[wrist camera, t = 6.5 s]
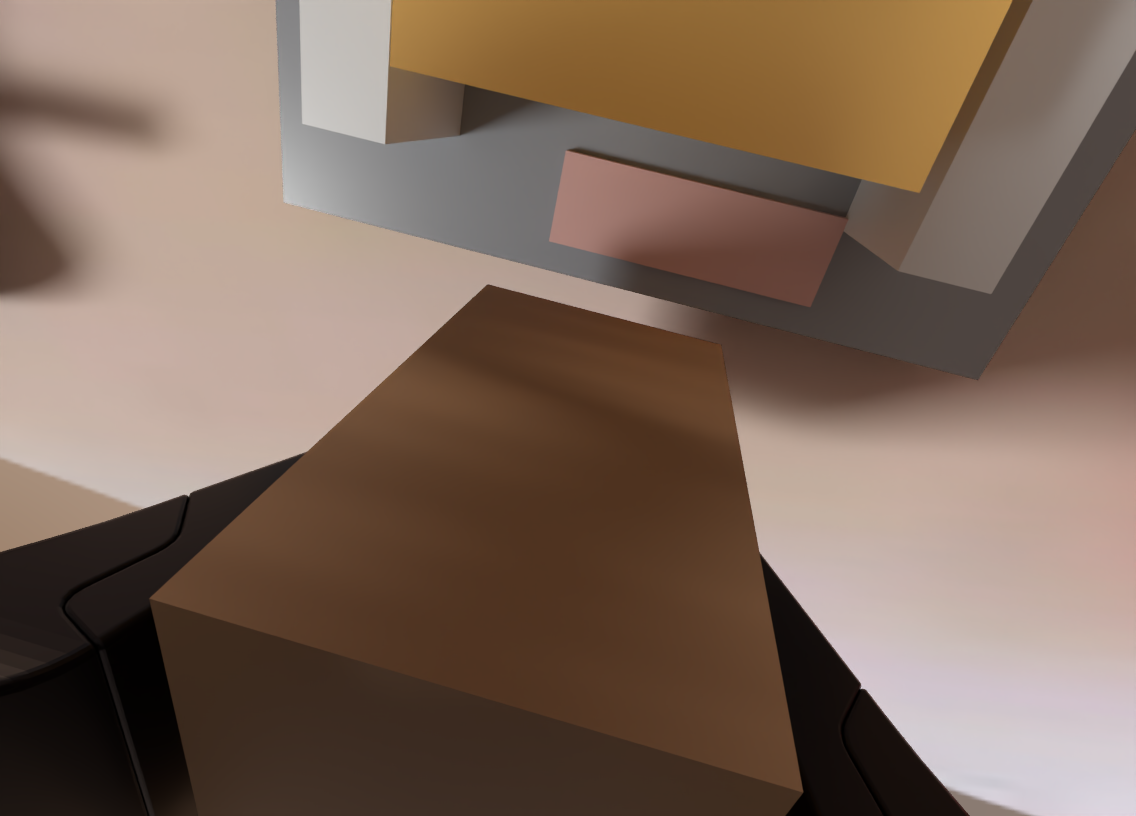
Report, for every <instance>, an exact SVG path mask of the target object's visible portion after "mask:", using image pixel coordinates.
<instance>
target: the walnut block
mask: <svg viewBox="0 0 1136 816" xmlns="http://www.w3.org/2000/svg"><path fill="white" fill-rule="evenodd" d="M149 600H150V604H151V609H152V613H153V617H154V622H155V626H156V631H157V635H158V640H159V644H160V648H161V653H162V657H163V662H164V666H165V670H166V675H167V679H168V684H169V688H170V692H171V697H172V701H173V706H174V710H175V714H176V719H177V723H178V728H179V732H180V736H181V741H182V745H183V750H184V754H185V759H186V763H187V767H188V772H189V776H190V781H191V785H192V789H193V794H194V798H195V803H196V807H197V811H198V816H786V814H787V813H788V812H789V810H790V809H791V808H792V807H793V805H794V804H795V803H796V801H797V800H798V799H799V798H800V796H801V795H802V794H803V788H802V782H801V777H800V772H799V766H798V761H797V755H796V750H795V744H794V739H793V733H792V728H791V722H790V717H789V712H788V706H787V701H786V695H785V690H784V684H783V679H782V673H781V668H780V663H779V657H778V652H777V646H776V641H775V635H774V630H773V624H772V619H771V614H770V608H769V603H768V597H767V592H766V586H765V581H764V575H763V570H762V564H761V559H760V554H759V548H758V543H757V537H756V532H755V526H754V521H753V515H752V510H751V505H750V499H749V494H748V488H747V483H746V477H745V472H744V466H743V461H742V456H741V450H740V445H739V439H738V434H737V428H736V423H735V417H734V412H733V406H732V401H731V396H730V390H729V385H728V379H727V374H726V368H725V363H724V357H723V352H722V347H721V345H720V344H716V343H712V342H708V341H704V340H700V339H697V338H693V337H689V336H685V335H681V334H677V333H673V332H670V331H666V330H662V329H658V328H654V327H650V326H646V325H643V324H639V323H635V322H631V321H627V320H623V319H619V318H615V317H612V316H608V315H604V314H600V313H596V312H592V311H588V310H585V309H581V308H577V307H573V306H569V305H565V304H561V303H558V302H554V301H550V300H546V299H542V298H538V297H534V296H530V295H527V294H523V293H519V292H515V291H511V290H507V289H503V288H500V287H496V286H492V285H486V286H485V287H484V288H483V289H482V290H481V291H480V292H479V293H478V294H477V295H476V296H475V297H474V298H472V299H471V300H470V301H469V302H468V303H467V304H466V305H465V306H464V307H463V308H462V309H461V310H460V311H458V312H457V313H456V314H455V315H454V316H453V317H452V318H451V319H450V320H449V321H448V322H447V323H446V324H444V325H443V326H442V327H441V328H440V329H439V330H438V331H437V332H436V333H435V334H434V335H433V336H432V337H430V338H429V339H428V340H427V341H426V342H425V343H424V344H423V345H422V346H421V347H420V348H419V349H418V350H416V351H415V352H414V353H413V354H412V355H411V356H410V357H409V358H408V359H407V360H406V361H405V362H404V363H402V364H401V365H400V366H399V367H398V368H397V369H396V370H395V371H394V372H393V373H392V374H391V375H390V376H388V377H387V378H386V379H385V380H384V381H383V382H382V383H381V384H380V385H379V386H378V387H377V388H376V389H374V390H373V391H372V392H371V393H370V394H369V395H368V396H367V397H366V398H365V399H364V400H363V401H361V402H360V403H359V404H358V405H357V406H356V407H355V408H354V409H353V410H352V411H351V412H350V413H349V414H347V415H346V416H345V417H344V418H343V419H342V420H341V421H340V422H339V423H338V424H337V425H336V426H335V427H333V428H332V429H331V430H330V431H329V432H328V433H327V434H326V435H325V436H324V437H323V438H322V439H321V440H319V441H318V442H317V443H316V444H315V445H314V446H313V447H312V448H311V449H310V450H309V451H308V452H307V453H305V454H304V455H303V456H302V457H301V458H300V459H299V460H298V461H297V462H296V463H295V464H294V465H293V466H291V467H290V468H289V469H288V470H287V471H286V472H285V473H284V474H283V475H282V476H281V477H280V478H279V479H277V480H276V481H275V482H274V483H273V484H272V485H271V486H270V487H269V488H268V489H267V490H266V491H265V492H263V493H262V494H261V495H260V496H259V497H258V498H257V499H256V500H255V501H254V502H253V503H252V504H251V505H249V506H248V507H247V508H246V509H245V510H244V511H243V512H242V513H241V514H240V515H239V516H238V517H237V518H235V519H234V520H233V521H232V522H231V523H230V524H229V525H228V526H227V527H226V528H225V529H224V530H223V531H221V532H220V533H219V534H218V535H217V536H216V537H215V538H214V539H213V540H212V541H211V542H210V543H208V544H207V545H206V546H205V547H204V548H203V549H202V550H201V551H200V552H199V553H198V554H197V555H196V556H194V557H193V558H192V559H191V560H190V561H189V562H188V563H187V564H186V565H185V566H184V567H183V568H182V569H180V570H179V571H178V572H177V573H176V574H175V575H174V576H173V577H172V578H171V579H170V580H169V581H168V582H166V583H165V584H164V585H163V586H162V587H161V588H160V589H159V590H158V591H157V592H156V593H155V594H154V595H152V596H151V597H150V598H149Z"/></svg>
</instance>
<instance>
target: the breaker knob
mask: <svg viewBox="0 0 1136 816" xmlns="http://www.w3.org/2000/svg"><path fill="white" fill-rule="evenodd" d="M1012 1H1013V0H393V6H392V29H391V51H390V66H391V67H395V68H399V69H403V70H407V71H412V72H416V73H420V74H424V75H428V76H432V77H437V78H441V79H445V80H449V81H453V82H457V83H462V84H466V85H470V86H474V87H478V88H483V89H487V90H491V91H495V92H499V93H503V94H508V95H512V96H516V97H520V98H524V99H528V100H533V101H537V102H541V103H545V104H549V105H554V106H558V107H562V108H566V109H570V110H574V111H579V112H583V113H587V114H591V115H595V116H599V117H604V118H608V119H612V120H616V121H620V122H625V123H629V124H633V125H637V126H641V127H645V128H650V129H654V130H658V131H662V132H666V133H670V134H675V135H679V136H683V137H687V138H691V139H696V140H700V141H704V142H708V143H712V144H716V145H721V146H725V147H729V148H733V149H737V150H742V151H746V152H750V153H754V154H758V155H762V156H767V157H771V158H775V159H779V160H783V161H787V162H792V163H796V164H800V165H804V166H808V167H813V168H817V169H821V170H825V171H829V172H833V173H838V174H842V175H846V176H850V177H854V178H858V179H863V180H867V181H871V182H875V183H879V184H884V185H888V186H892V187H896V188H900V189H904V190H909V191H913V192H917V193H920V191H921V189H922V187H923V185H924V183H925V181H926V178H927V176H928V174H929V172H930V170H931V168H932V166H933V164H934V162H935V160H936V158H937V156H938V154H939V152H940V150H941V147H942V145H943V143H944V141H945V139H946V137H947V135H948V133H949V131H950V129H951V127H952V125H953V123H954V121H955V119H956V116H957V114H958V112H959V110H960V108H961V106H962V104H963V102H964V100H965V98H966V96H967V94H968V92H969V90H970V88H971V85H972V83H973V81H974V79H975V77H976V75H977V73H978V71H979V69H980V67H981V65H982V63H983V61H984V59H985V57H986V55H987V52H988V50H989V48H990V46H991V44H992V42H993V40H994V38H995V36H996V34H997V32H998V30H999V28H1000V26H1001V24H1002V21H1003V19H1004V17H1005V15H1006V13H1007V11H1008V9H1009V7H1010V5H1011V3H1012Z"/></svg>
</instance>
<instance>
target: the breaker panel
mask: <svg viewBox="0 0 1136 816" xmlns="http://www.w3.org/2000/svg"><path fill="white" fill-rule="evenodd" d="M392 6H393V0H276V21H277V46H278V72H279V97H280V123H281V149H282V174H283V200H284V203H287V204H291V205H295V206H299V207H303V208H307V209H311V210H315V211H319V212H322V213H326V214H330V215H334V216H338V217H342V218H346V219H350V220H354V221H358V222H362V223H366V224H369V225H373V226H377V227H381V228H385V229H389V230H393V231H397V232H401V233H405V234H409V235H412V236H416V237H420V238H424V239H428V240H432V241H436V242H440V243H444V244H448V245H452V246H455V247H459V248H463V249H467V250H471V251H475V252H479V253H483V254H487V255H491V256H495V257H499V258H502V259H506V260H510V261H514V262H518V263H522V264H526V265H530V266H534V267H538V268H542V269H545V270H549V271H553V272H557V273H561V274H565V275H569V276H573V277H577V278H581V279H585V280H589V281H592V282H596V283H600V284H604V285H608V286H612V287H616V288H620V289H624V290H628V291H632V292H635V293H639V294H643V295H647V296H651V297H655V298H659V299H663V300H667V301H671V302H675V303H678V304H682V305H686V306H690V307H694V308H698V309H702V310H706V311H710V312H714V313H718V314H722V315H725V316H729V317H733V318H737V319H741V320H745V321H749V322H753V323H757V324H761V325H765V326H768V327H772V328H776V329H780V330H784V331H788V332H792V333H796V334H800V335H804V336H808V337H811V338H815V339H819V340H823V341H827V342H831V343H835V344H839V345H843V346H847V347H851V348H855V349H858V350H862V351H866V352H870V353H874V354H878V355H882V356H886V357H890V358H894V359H898V360H901V361H905V362H909V363H913V364H917V365H921V366H925V367H929V368H933V369H937V370H941V371H944V372H948V373H952V374H956V375H960V376H964V377H968V378H972V379H976V380H978V379H979V378H980V376H981V374H982V373H983V371H984V370H985V368H986V367H987V365H988V363H989V362H990V360H991V359H992V357H993V355H994V354H995V352H996V351H997V349H998V347H999V346H1000V344H1001V343H1002V341H1003V340H1004V338H1005V336H1006V335H1007V333H1008V332H1009V330H1010V328H1011V327H1012V325H1013V324H1014V322H1015V320H1016V319H1017V317H1018V316H1019V314H1020V312H1021V311H1022V309H1023V308H1024V306H1025V305H1026V303H1027V301H1028V300H1029V298H1030V297H1031V295H1032V293H1033V292H1034V290H1035V289H1036V287H1037V285H1038V284H1039V282H1040V281H1041V279H1042V278H1043V276H1044V274H1045V273H1046V271H1047V270H1048V268H1049V266H1050V265H1051V263H1052V262H1053V260H1054V258H1055V257H1056V255H1057V254H1058V252H1059V250H1060V249H1061V247H1062V246H1063V244H1064V243H1065V241H1066V239H1067V238H1068V236H1069V235H1070V233H1071V231H1072V230H1073V228H1074V227H1075V225H1076V223H1077V222H1078V220H1079V219H1080V217H1081V216H1082V214H1083V212H1084V211H1085V209H1086V208H1087V206H1088V204H1089V203H1090V201H1091V200H1092V198H1093V196H1094V195H1095V193H1096V192H1097V190H1098V188H1099V187H1100V185H1101V184H1102V182H1103V181H1104V179H1105V177H1106V176H1107V174H1108V173H1109V171H1110V169H1111V168H1112V166H1113V165H1114V163H1115V161H1116V160H1117V158H1118V157H1119V155H1120V154H1121V152H1122V150H1123V149H1124V147H1125V146H1126V144H1127V142H1128V141H1129V139H1130V138H1131V136H1132V134H1133V133H1134V131H1135V130H1136V0H1013V1H1012V3H1011V5H1010V7H1009V9H1008V11H1007V13H1006V15H1005V17H1004V19H1003V21H1002V24H1001V26H1000V28H999V30H998V32H997V34H996V36H995V38H994V40H993V42H992V44H991V46H990V48H989V50H988V52H987V55H986V57H985V59H984V61H983V63H982V65H981V67H980V69H979V71H978V73H977V75H976V77H975V79H974V81H973V83H972V85H971V88H970V90H969V92H968V94H967V96H966V98H965V100H964V102H963V104H962V106H961V108H960V110H959V112H958V114H957V116H956V119H955V121H954V123H953V125H952V127H951V129H950V131H949V133H948V135H947V137H946V139H945V141H944V143H943V145H942V147H941V150H940V152H939V154H938V156H937V158H936V160H935V162H934V164H933V166H932V168H931V170H930V172H929V174H928V176H927V178H926V181H925V183H924V185H923V187H922V189H921V191H920V193H917V192H913V191H909V190H904V189H900V188H896V187H892V186H888V185H884V184H879V183H875V182H871V181H867V180H863V179H858V178H854V177H850V176H846V175H842V174H838V173H833V172H829V171H825V170H821V169H817V168H813V167H808V166H804V165H800V164H796V163H792V162H787V161H783V160H779V159H775V158H771V157H767V156H762V155H758V154H754V153H750V152H746V151H742V150H737V149H733V148H729V147H725V146H721V145H716V144H712V143H708V142H704V141H700V140H696V139H691V138H687V137H683V136H679V135H675V134H670V133H666V132H662V131H658V130H654V129H650V128H645V127H641V126H637V125H633V124H629V123H625V122H620V121H616V120H612V119H608V118H604V117H599V116H595V115H591V114H587V113H583V112H579V111H574V110H570V109H566V108H562V107H558V106H554V105H549V104H545V103H541V102H537V101H533V100H528V99H524V98H520V97H516V96H512V95H508V94H503V93H499V92H495V91H491V90H487V89H483V88H478V87H474V86H470V85H466V84H462V83H457V82H453V81H449V80H445V79H441V78H437V77H432V76H428V75H424V74H420V73H416V72H412V71H407V70H403V69H399V68H395V67H391V66H390V51H391V29H392Z"/></svg>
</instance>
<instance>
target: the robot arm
mask: <svg viewBox="0 0 1136 816" xmlns="http://www.w3.org/2000/svg"><path fill="white" fill-rule="evenodd" d="M305 453H307V452H305ZM305 453H302V454H299V455H297V456H294V457H291V458H288V459H285V460H282V461H279V462H277V463H274V464H271V465H268V466H265V467H262V468H259V469H257V470H254V471H251V472H248V473H245V474H242V475H239V476H237V477H234V478H231V479H228V480H225V481H222V482H219V483H217V484H214V485H211V486H208V487H205V488H202V489H199V490H197V491H194V492H192V493H190V495H189V497H188V496H187V495H182V496H179V497H176V498H173V499H171V500H168V501H165V502H162V503H159V504H156V505H153V506H150V507H147V508H144V509H141V510H138V511H135V512H132V513H129V514H126V515H123V516H120V517H117V518H114V519H111V520H108V521H105V522H102V523H99V524H95V525H92V526H89V527H85V528H82V529H79V530H75V531H72V532H69V533H65V534H62V535H58V536H55V537H52V538H48V539H45V540H41V541H38V542H35V543H31V544H27V545H24V546H20V547H17V548H13V549H10V550H6V551H3V552H0V816H198V811H197V807H196V803H195V798H194V794H193V789H192V785H191V781H190V776H189V772H188V767H187V763H186V759H185V754H184V750H183V745H182V741H181V736H180V732H179V728H178V723H177V719H176V714H175V710H174V706H173V701H172V697H171V692H170V688H169V684H168V679H167V675H166V670H165V666H164V662H163V657H162V653H161V648H160V644H159V640H158V635H157V631H156V626H155V622H154V617H153V613H152V609H151V604H150V600H149V598H150V597H151V596H152V595H154V594H155V593H156V592H157V591H158V590H159V589H160V588H161V587H162V586H163V585H164V584H165V583H166V582H168V581H169V580H170V579H171V578H172V577H173V576H174V575H175V574H176V573H177V572H178V571H179V570H180V569H182V568H183V567H184V566H185V565H186V564H187V563H188V562H189V561H190V560H191V559H192V558H193V557H194V556H196V555H197V554H198V553H199V552H200V551H201V550H202V549H203V548H204V547H205V546H206V545H207V544H208V543H210V542H211V541H212V540H213V539H214V538H215V537H216V536H217V535H218V534H219V533H220V532H221V531H223V530H224V529H225V528H226V527H227V526H228V525H229V524H230V523H231V522H232V521H233V520H234V519H235V518H237V517H238V516H239V515H240V514H241V513H242V512H243V511H244V510H245V509H246V508H247V507H248V506H249V505H251V504H252V503H253V502H254V501H255V500H256V499H257V498H258V497H259V496H260V495H261V494H262V493H263V492H265V491H266V490H267V489H268V488H269V487H270V486H271V485H272V484H273V483H274V482H275V481H276V480H277V479H279V478H280V477H281V476H282V475H283V474H284V473H285V472H286V471H287V470H288V469H289V468H290V467H291V466H293V465H294V464H295V463H296V462H297V461H298V460H299V459H300V458H301V457H302V456H303V455H304V454H305ZM759 554H760V552H759ZM760 559H761V564H762V570H763V575H764V581H765V586H766V592H767V597H768V603H769V608H770V614H771V619H772V624H773V630H774V635H775V641H776V646H777V652H778V657H779V663H780V668H781V673H782V679H783V684H784V690H785V695H786V701H787V706H788V712H789V717H790V722H791V728H792V733H793V739H794V744H795V750H796V755H797V761H798V766H799V772H800V777H801V782H802V788H803V794H802V795H801V796H800V798H799V799H798V800H797V801H796V803H795V804H794V805H793V807H792V808H791V809H790V810H789V812H788V813H787V814H786V816H970V815H968V813H967V812H966V811H965V810H964V809H963V807H962V806H961V805H960V804H959V803H958V802H957V801H956V799H955V798H954V797H953V796H952V795H951V794H950V792H949V791H948V790H947V789H946V788H945V787H944V785H943V784H942V783H941V782H940V781H939V780H938V778H937V777H936V776H935V775H934V774H933V773H932V771H931V770H930V769H929V768H928V767H927V766H926V764H925V763H924V762H923V761H922V760H921V759H920V757H919V756H918V755H917V754H916V752H915V751H914V750H913V749H912V747H911V746H910V745H909V744H908V742H907V741H906V740H905V739H904V737H903V736H902V735H901V734H900V732H899V731H898V730H897V729H896V727H895V726H894V725H893V724H892V722H891V721H890V720H889V719H888V718H887V716H886V715H885V714H884V712H883V711H882V710H881V709H880V707H879V706H878V705H877V703H876V702H875V701H874V699H873V698H872V697H871V696H870V694H869V693H868V692H867V690H865V689H860V688H861V683H860V682H859V680H858V679H857V678H856V677H855V675H854V674H853V673H852V671H851V670H850V669H849V667H848V666H847V665H846V664H845V662H844V661H843V660H842V658H841V657H840V656H839V655H838V653H837V652H836V651H835V649H834V648H833V647H832V645H831V644H830V643H829V642H828V640H827V639H826V638H825V636H824V635H823V634H822V633H821V631H820V630H819V629H818V627H817V626H816V625H815V623H814V622H813V621H812V620H811V618H810V617H809V616H808V614H807V613H806V612H805V611H804V609H803V608H802V607H801V605H800V604H799V603H798V601H797V600H796V599H795V598H794V596H793V595H792V594H791V592H790V591H789V590H788V589H787V587H786V586H785V585H784V583H783V582H782V581H781V579H780V578H779V577H778V576H777V574H776V573H775V572H774V570H773V569H772V568H771V567H770V565H769V564H768V563H767V561H766V560H765V559H764V558H763V556H762V555H761V554H760Z"/></svg>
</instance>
